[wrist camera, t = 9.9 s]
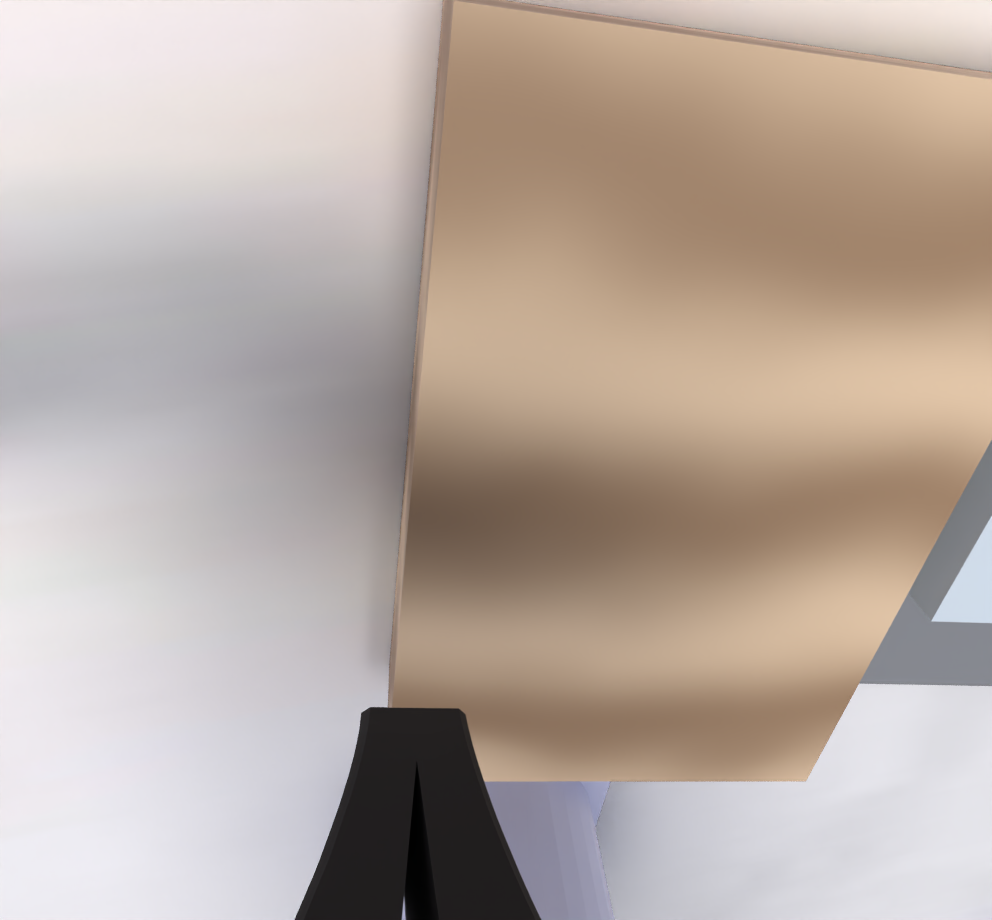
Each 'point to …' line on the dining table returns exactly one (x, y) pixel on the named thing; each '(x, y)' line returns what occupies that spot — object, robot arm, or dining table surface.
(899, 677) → the mat
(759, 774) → the tan flat wooden block
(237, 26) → the dining table surface
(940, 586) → the tile
